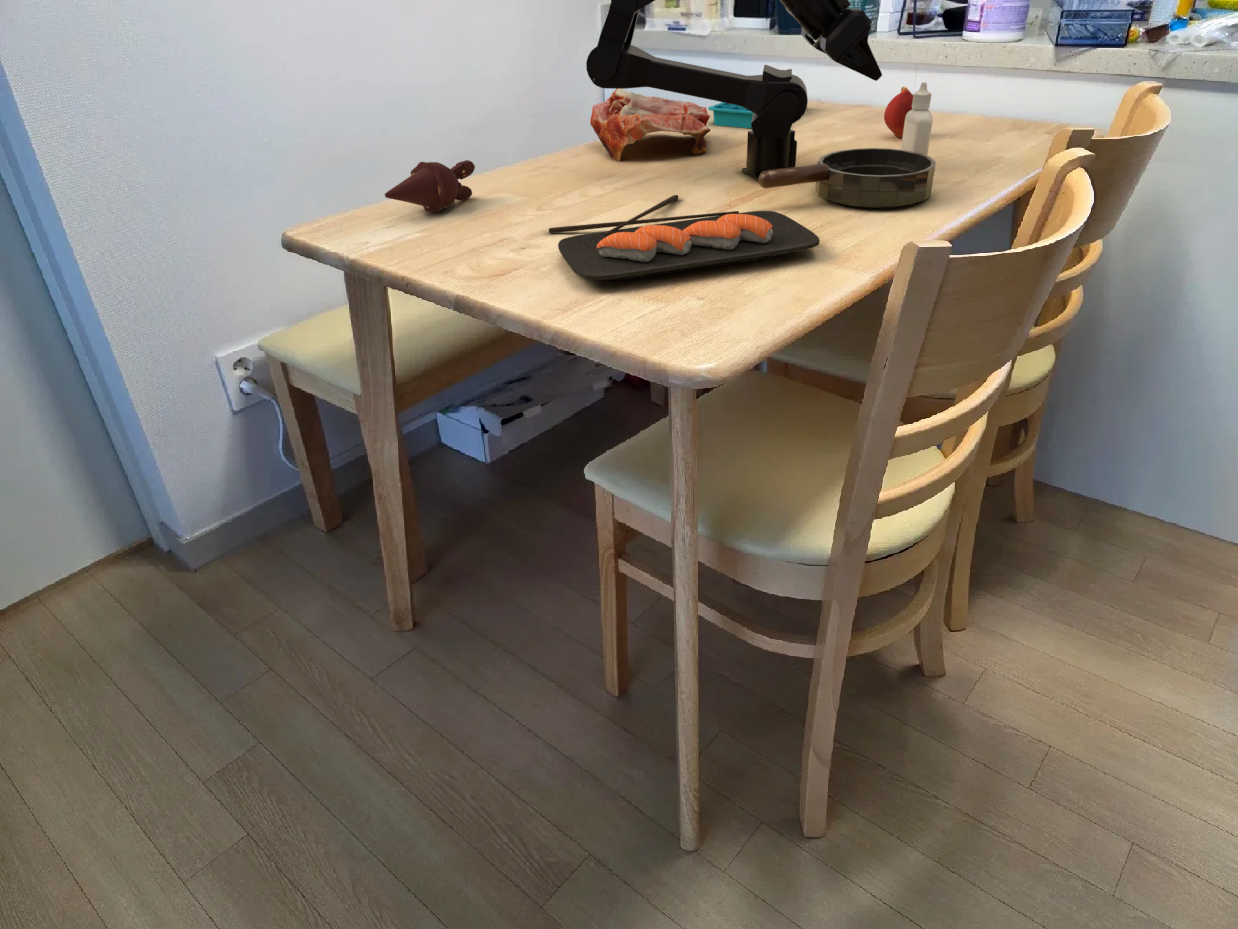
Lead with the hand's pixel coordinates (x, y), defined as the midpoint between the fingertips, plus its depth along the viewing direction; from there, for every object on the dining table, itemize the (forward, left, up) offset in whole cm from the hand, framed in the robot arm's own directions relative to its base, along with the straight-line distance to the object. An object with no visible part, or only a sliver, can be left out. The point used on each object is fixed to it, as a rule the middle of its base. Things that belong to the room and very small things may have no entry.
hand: (870, 72), depth 117 cm
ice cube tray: (+3, +43, -14) cm, 45 cm away
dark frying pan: (-5, -12, -13) cm, 19 cm away
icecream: (-63, +8, -14) cm, 65 cm away
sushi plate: (-37, -17, -14) cm, 43 cm away
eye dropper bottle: (+7, -3, -14) cm, 16 cm away
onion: (+17, +16, -14) cm, 27 cm away
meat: (-23, +29, -14) cm, 40 cm away
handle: (-17, -12, -11) cm, 23 cm away
